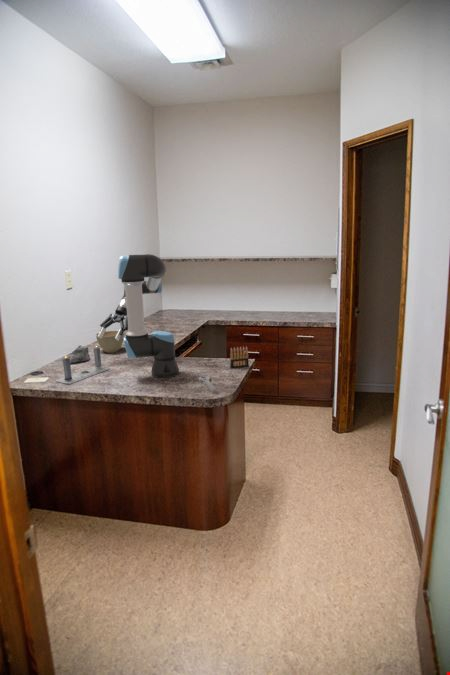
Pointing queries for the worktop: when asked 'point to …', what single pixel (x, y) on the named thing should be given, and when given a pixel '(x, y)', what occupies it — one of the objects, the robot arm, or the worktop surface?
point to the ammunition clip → (239, 358)
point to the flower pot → (110, 341)
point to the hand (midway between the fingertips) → (107, 338)
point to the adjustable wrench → (208, 383)
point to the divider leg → (97, 356)
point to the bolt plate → (79, 375)
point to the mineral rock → (79, 354)
